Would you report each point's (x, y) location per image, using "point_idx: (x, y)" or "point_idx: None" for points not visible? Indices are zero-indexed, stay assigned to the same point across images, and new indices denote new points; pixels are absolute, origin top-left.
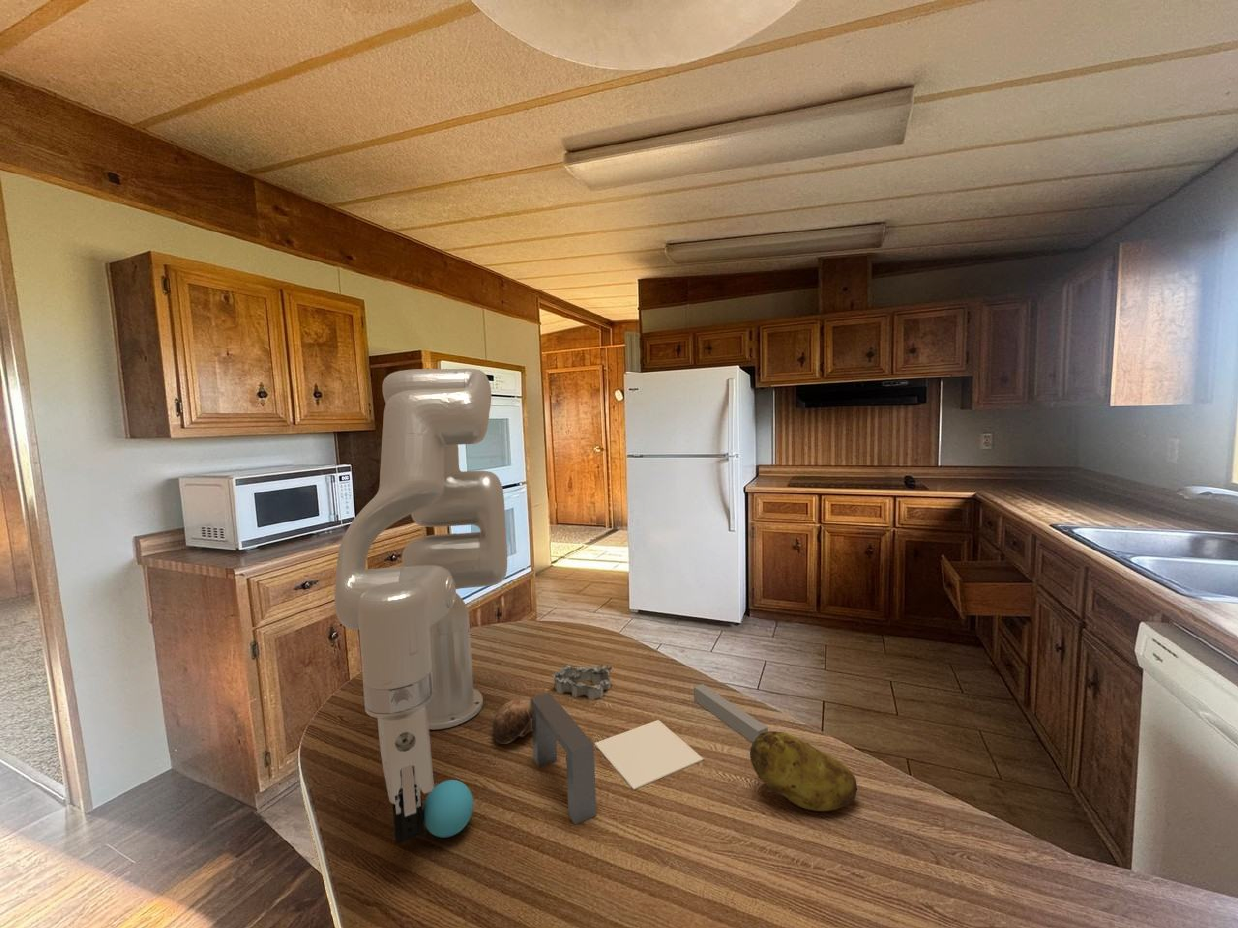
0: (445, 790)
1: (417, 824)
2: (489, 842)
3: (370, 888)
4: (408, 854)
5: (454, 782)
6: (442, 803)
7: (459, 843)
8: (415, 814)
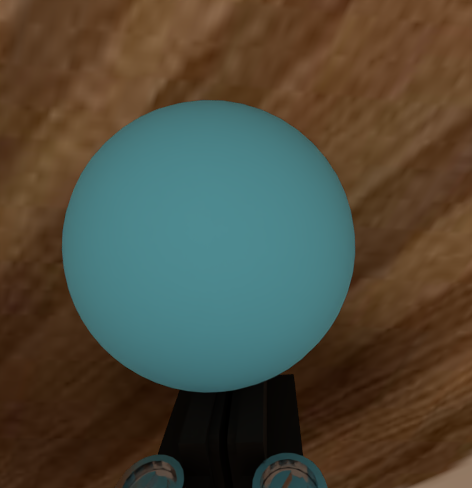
0: (233, 321)
1: (268, 381)
2: (373, 51)
3: (370, 444)
4: None
5: (148, 243)
6: (309, 325)
7: None
8: (301, 447)
